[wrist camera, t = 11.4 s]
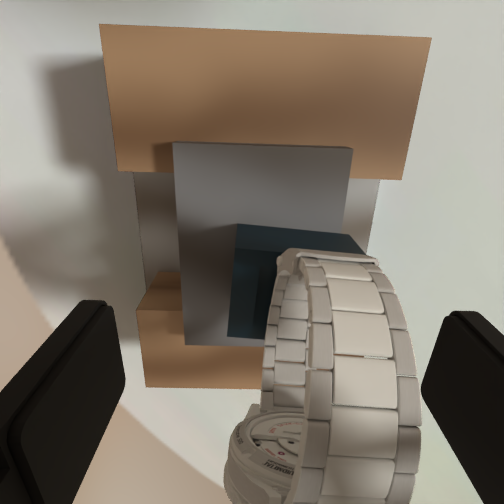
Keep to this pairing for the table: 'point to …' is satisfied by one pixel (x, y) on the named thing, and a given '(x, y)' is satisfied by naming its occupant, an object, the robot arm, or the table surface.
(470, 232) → the table surface
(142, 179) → the watch stand
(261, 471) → the watch
